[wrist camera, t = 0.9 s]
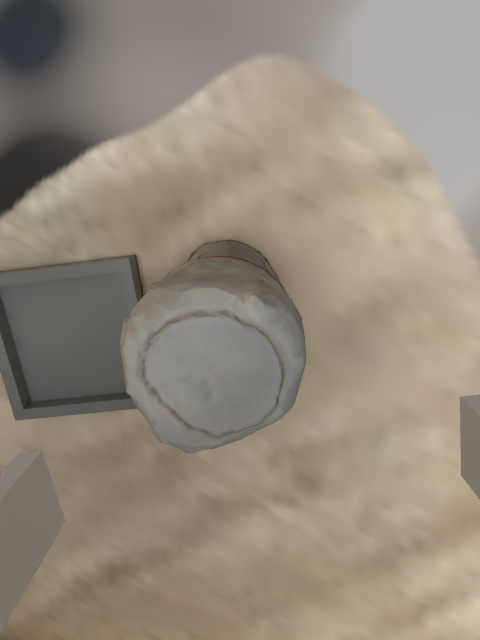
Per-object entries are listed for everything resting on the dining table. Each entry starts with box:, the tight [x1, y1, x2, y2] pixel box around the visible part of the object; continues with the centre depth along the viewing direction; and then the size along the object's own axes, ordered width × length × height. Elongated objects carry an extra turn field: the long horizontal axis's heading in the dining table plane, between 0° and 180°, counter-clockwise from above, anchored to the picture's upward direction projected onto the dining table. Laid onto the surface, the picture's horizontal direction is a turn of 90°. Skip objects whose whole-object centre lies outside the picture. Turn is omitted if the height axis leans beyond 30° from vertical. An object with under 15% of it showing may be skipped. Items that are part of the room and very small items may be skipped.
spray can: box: [120, 240, 306, 453], centre depth 25 cm, size 8×8×20 cm
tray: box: [0, 255, 144, 420], centre depth 35 cm, size 13×13×2 cm
